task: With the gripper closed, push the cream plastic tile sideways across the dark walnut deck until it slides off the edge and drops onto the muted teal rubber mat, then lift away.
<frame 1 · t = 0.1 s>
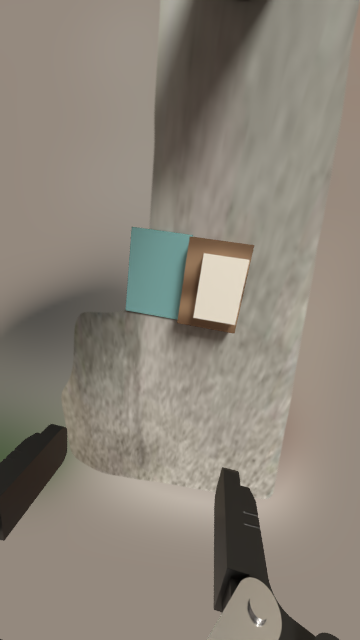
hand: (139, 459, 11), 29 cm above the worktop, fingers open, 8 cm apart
tile: (219, 288, 33), point 4 cm above the worktop, touching deck
mat: (157, 275, 38), on the worktop
deck: (213, 283, 37), on the worktop
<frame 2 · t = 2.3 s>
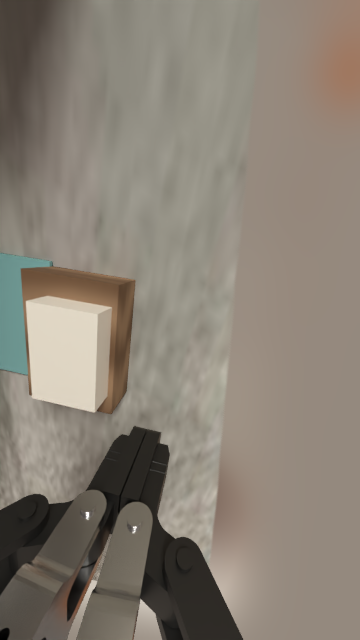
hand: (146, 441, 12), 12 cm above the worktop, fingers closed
tile: (78, 348, 21), point 4 cm above the worktop, touching deck
mat: (14, 317, 26), on the worktop
deck: (91, 332, 25), on the worktop
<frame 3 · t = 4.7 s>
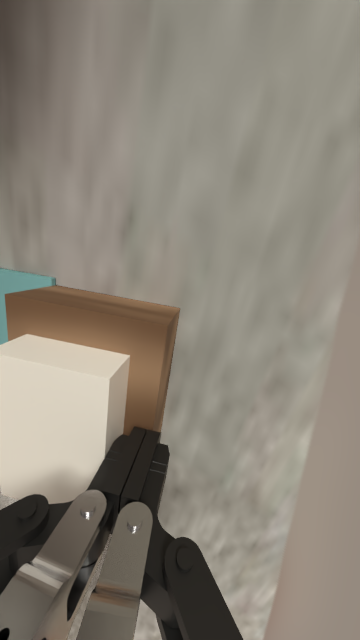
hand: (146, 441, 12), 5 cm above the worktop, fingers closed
tile: (76, 413, 13), point 4 cm above the worktop, touching gripper
deck: (110, 378, 17), on the worktop
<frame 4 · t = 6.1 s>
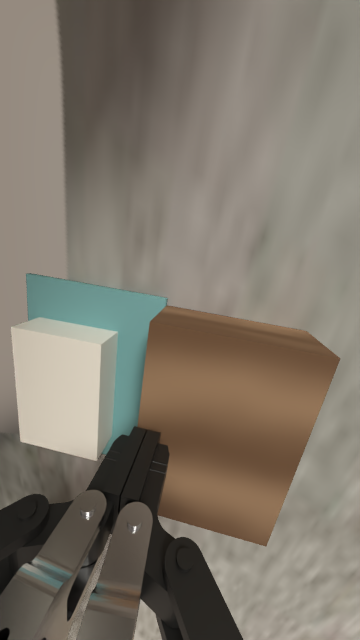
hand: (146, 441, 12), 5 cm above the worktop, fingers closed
tile: (56, 398, 15), point 3 cm above the worktop, tilted 180°, touching mat
mat: (92, 374, 17), on the worktop
deck: (214, 402, 16), on the worktop
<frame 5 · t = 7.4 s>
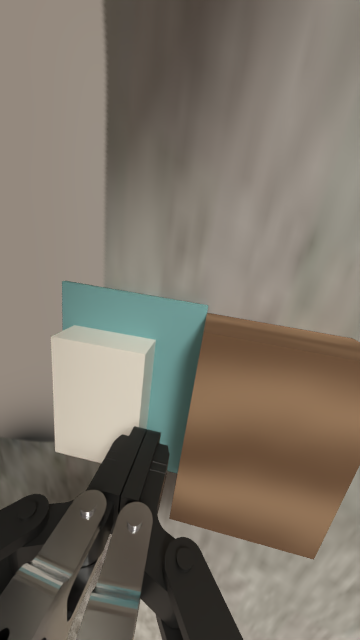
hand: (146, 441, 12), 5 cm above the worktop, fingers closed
tile: (95, 408, 15), point 3 cm above the worktop, tilted 180°, touching mat
mat: (126, 383, 17), on the worktop
deck: (253, 410, 16), on the worktop
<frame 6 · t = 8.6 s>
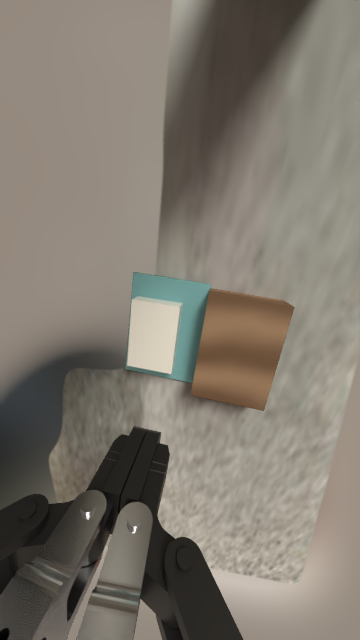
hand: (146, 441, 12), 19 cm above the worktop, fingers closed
tile: (152, 337, 28), point 3 cm above the worktop, tilted 180°, touching mat
mat: (165, 329, 31), on the worktop
deck: (235, 342, 30), on the worktop
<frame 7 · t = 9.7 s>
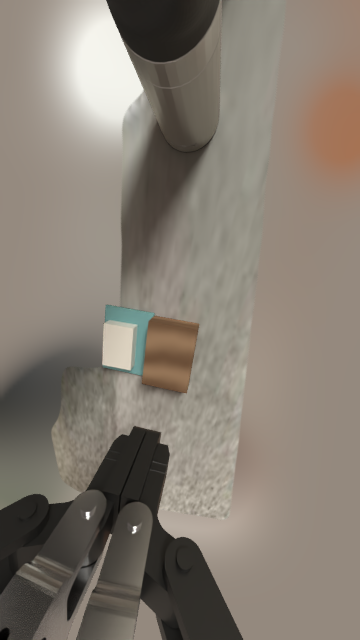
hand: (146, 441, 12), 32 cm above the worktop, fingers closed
tile: (117, 347, 44), point 3 cm above the worktop, tilted 180°, touching mat
mat: (127, 341, 47), on the worktop
deck: (172, 350, 46), on the worktop
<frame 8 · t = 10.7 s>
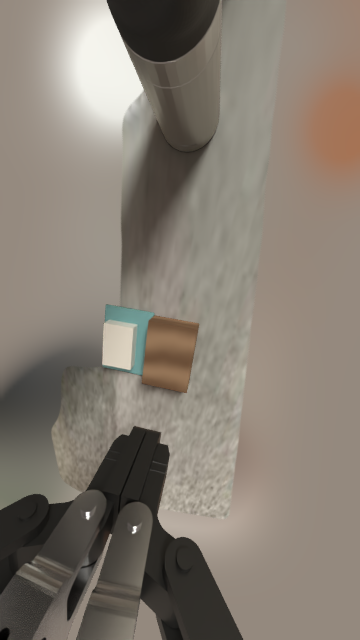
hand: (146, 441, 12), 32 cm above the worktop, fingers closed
tile: (117, 347, 44), point 3 cm above the worktop, tilted 180°, touching mat
mat: (127, 340, 47), on the worktop
deck: (172, 349, 46), on the worktop
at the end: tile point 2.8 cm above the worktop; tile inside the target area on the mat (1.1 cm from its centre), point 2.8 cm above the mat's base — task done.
